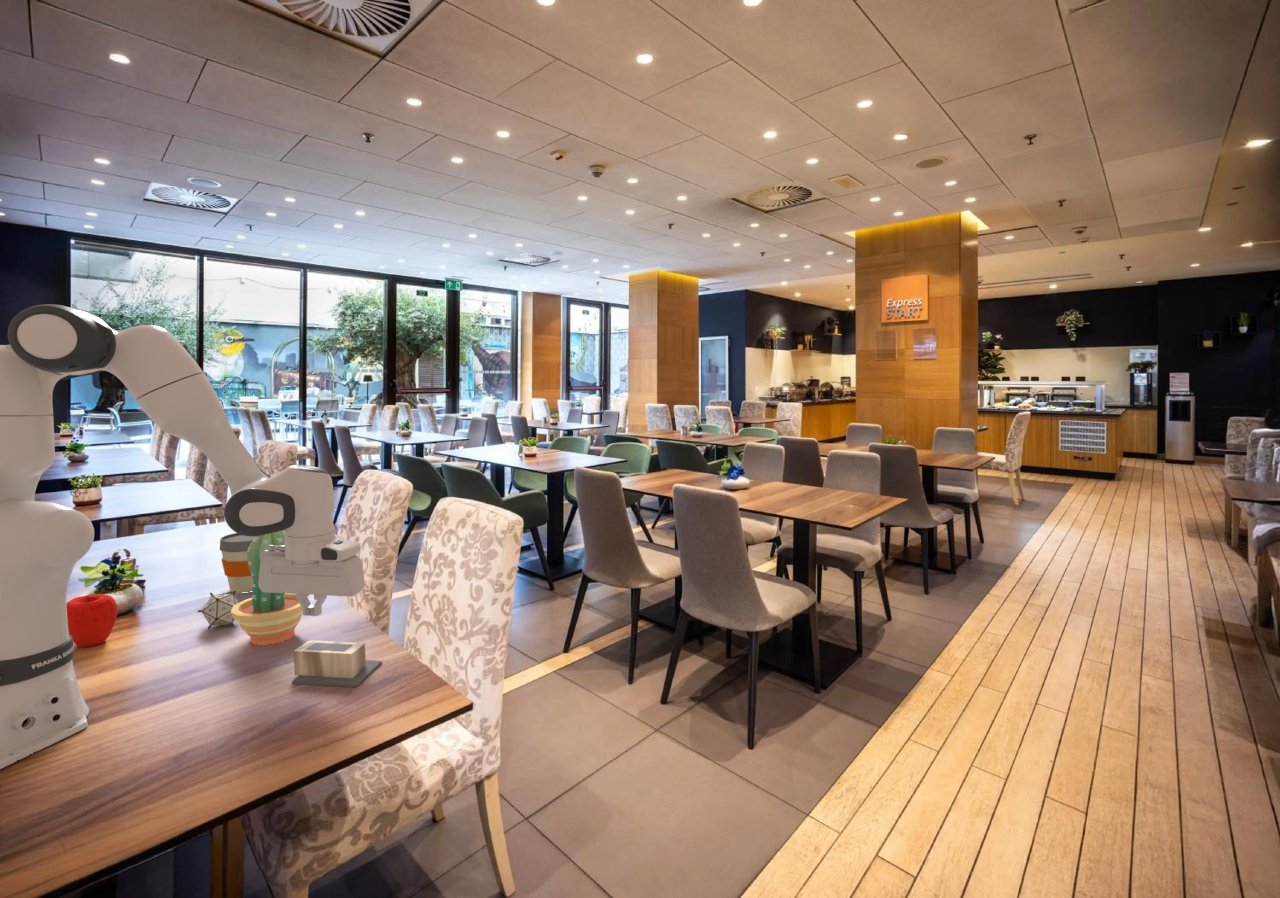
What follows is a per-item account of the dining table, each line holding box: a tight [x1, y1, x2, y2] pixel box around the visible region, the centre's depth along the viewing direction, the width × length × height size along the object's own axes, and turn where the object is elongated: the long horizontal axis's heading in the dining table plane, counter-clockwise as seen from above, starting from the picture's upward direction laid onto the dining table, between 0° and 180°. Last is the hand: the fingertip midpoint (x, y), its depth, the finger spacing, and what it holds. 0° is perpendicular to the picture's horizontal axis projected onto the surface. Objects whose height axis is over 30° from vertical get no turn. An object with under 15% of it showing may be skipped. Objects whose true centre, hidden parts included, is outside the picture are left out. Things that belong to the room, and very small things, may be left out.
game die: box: [197, 590, 240, 630], centre depth 145 cm, size 9×8×10 cm
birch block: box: [293, 639, 367, 678], centre depth 123 cm, size 5×5×12 cm
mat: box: [291, 659, 383, 688], centre depth 123 cm, size 10×13×1 cm
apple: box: [66, 593, 119, 648], centre depth 135 cm, size 9×9×11 cm
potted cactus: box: [231, 530, 309, 646], centre depth 138 cm, size 15×15×25 cm
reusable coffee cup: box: [219, 532, 256, 594], centre depth 170 cm, size 13×13×15 cm
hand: (312, 614), depth 121 cm, fingers closed
